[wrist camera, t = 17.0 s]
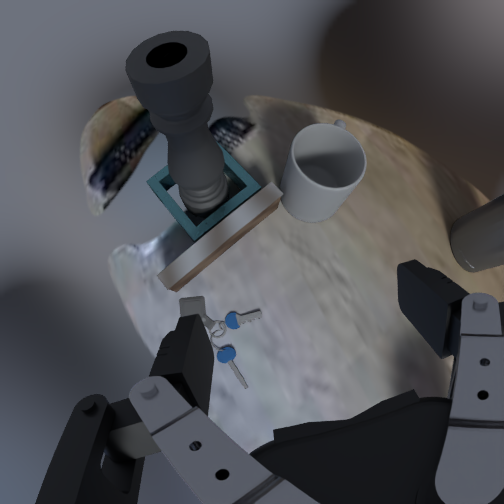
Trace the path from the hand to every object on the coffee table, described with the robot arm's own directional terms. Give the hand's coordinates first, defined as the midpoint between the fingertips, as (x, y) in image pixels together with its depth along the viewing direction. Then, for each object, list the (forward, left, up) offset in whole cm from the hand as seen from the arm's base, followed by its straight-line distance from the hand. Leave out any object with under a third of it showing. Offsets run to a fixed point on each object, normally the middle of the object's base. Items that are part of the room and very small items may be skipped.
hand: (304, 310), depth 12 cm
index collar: (-5, -17, -27) cm, 32 cm away
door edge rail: (-2, -10, -27) cm, 29 cm away
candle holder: (-5, -17, -27) cm, 32 cm away
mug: (-17, -9, -27) cm, 33 cm away
